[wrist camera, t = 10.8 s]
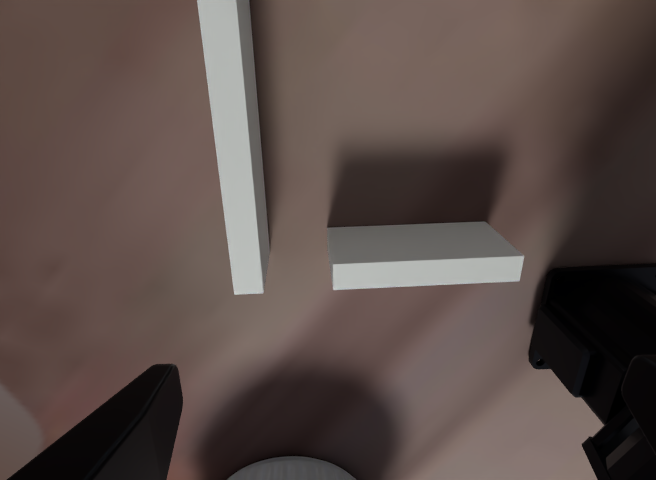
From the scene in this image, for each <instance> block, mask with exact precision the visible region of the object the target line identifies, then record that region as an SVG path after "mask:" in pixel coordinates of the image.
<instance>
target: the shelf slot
mask: <svg viewBox="0 0 656 480" xmlns="http://www.w3.org/2000/svg"><path fill="white" fill-rule="evenodd" d="M197 3H198V11H199V18H200V26H201V34H202V42H203V50H204V58H205V66H206V74H207V82H208V90H209V98H210V106H211V113H212V121H213V129H214V137H215V145H216V153H217V161H218V169H219V177H220V185H221V193H222V200H223V208H224V216H225V224H226V232H227V240H228V248H229V256H230V264H231V272H232V280H233V288H234V295H236V294H257V293H264V287H265V281H266V274H267V268H268V261H269V255H270V246H269V234H268V222H267V210H266V198H265V186H264V173H263V161H262V149H261V137H260V125H259V113H258V100H257V88H256V76H255V64H254V52H253V40H252V28H251V15H250V3H249V0H197ZM327 250H328V257H329V264H330V271H331V278H332V285H333V290H342V289H364V288H385V287H406V286H427V285H449V284H470V283H491V282H512V281H520V276H521V271H522V265H523V260H524V255H523V254H522V253H520V252H519V251H518V250H517V249H516V248H515V247H514V246H512V245H511V244H510V243H509V242H508V241H507V240H506V239H505V238H503V237H502V236H501V235H500V234H499V233H498V232H497V231H495V230H494V229H493V228H492V227H491V226H490V225H489V224H488V223H486V222H485V221H482V222H457V223H432V224H407V225H381V226H356V227H331V228H327Z"/></svg>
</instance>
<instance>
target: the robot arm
mask: <svg viewBox="0 0 656 480" xmlns="http://www.w3.org/2000/svg"><path fill="white" fill-rule="evenodd" d="M558 276H560V278H559V279H558V280H556V278H557V277H558ZM531 345H532V346H531V351H530V355H529V362H530V364H531V365H532V366H533V368H535V369H551V370H552V371H553V372H554V373H555V375H556V376H557V377H558V378H559V379H560V381H561V382H562V383H563V384H564V386H565V387H566V388H567V389H568V391H569V392H570V393H571V394H572V395H573V396H574V397H581V398H582V399H583V400H584V401H585V402H586V404H587V405H588V406H589V407H590V408H591V410H592V411H593V412H594V413H595V414H596V416H597V417H598V418H599V419H600V420H601V422H602V423H603V424H604V426H603V427H602V428H601V429H600V430H599V431H598V432H597V433H596V434H595V435H594V436H593V437H589V438H588V439H587V440H586V441H585V442H584V443H583V444H582V447H583V449H584V451H585V453H586V455H587V458H588V460H589V462H590V464H591V466H592V469H593V471H594V473H595V475H596V477H597V479H598V480H656V263H653V264H631V265H609V266H587V267H566V268H555V269H553V270H551V271H550V272H549V273H548V275H547V278H546V283H545V287H544V292H543V296H542V301H541V305H540V308H539V309H538V314H537V318H536V323H535V327H534V332H533V336H532V341H531ZM538 360H539V361H538ZM182 406H183V396H182V389H181V383H180V377H179V371H178V368H177V366H176V365H174V364H155V365H153V366H151V367H150V368H148V369H147V370H146V371H145V372H143V373H142V374H141V375H139V376H138V377H137V378H136V379H134V380H133V381H132V382H131V383H129V384H128V385H127V386H125V387H124V388H123V389H122V390H120V391H119V392H118V393H117V394H115V395H114V396H113V397H111V398H110V399H109V400H108V401H106V402H105V403H104V404H102V405H101V406H100V407H99V408H97V409H96V410H95V411H94V412H92V413H91V414H90V415H88V416H87V417H86V418H85V419H83V420H82V421H81V422H80V423H78V424H77V425H76V426H74V427H73V428H72V429H71V430H69V431H68V432H67V433H66V434H64V435H63V436H62V437H60V438H59V439H58V440H57V441H55V442H54V443H53V444H52V445H50V446H49V447H48V448H46V449H45V450H44V451H43V452H41V453H40V454H39V455H38V456H36V457H35V458H34V459H32V460H31V461H30V462H29V463H27V464H26V465H25V466H24V467H22V468H21V469H20V470H18V471H17V472H16V473H15V474H13V475H12V476H11V477H10V478H8V479H7V480H166V479H167V475H168V470H169V466H170V461H171V457H172V452H173V448H174V443H175V439H176V435H177V430H178V426H179V421H180V417H181V412H182Z"/></svg>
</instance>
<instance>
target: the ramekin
mask: <svg viewBox="0 0 656 480" xmlns="http://www.w3.org/2000/svg"><path fill="white" fill-rule="evenodd" d="M227 480H356V479H355V478H354V477H353V476H351V475H350V474H349V473H348V472H346V471H345V470H343V469H342V468H340V467H338V466H336V465H334V464H332V463H329V462H327V461H323V460H319V459H315V458H310V457H301V456H286V457H276V458H271V459H266V460H262V461H259V462H256V463H253V464H251V465H248V466H246V467H244V468H242V469H241V470H239V471H237V472H236V473H234V474H233V475H232V476H231V477H229V478H228V479H227Z"/></svg>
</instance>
